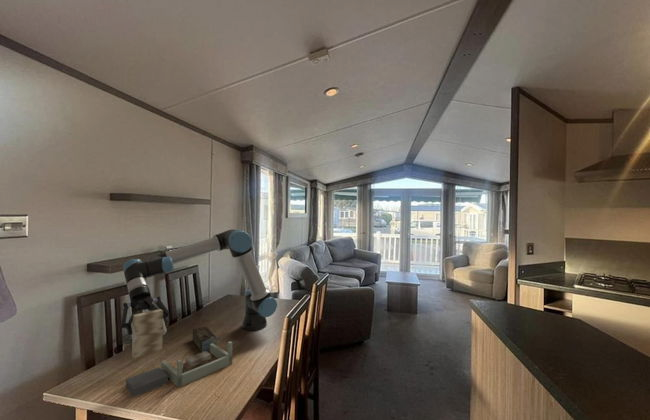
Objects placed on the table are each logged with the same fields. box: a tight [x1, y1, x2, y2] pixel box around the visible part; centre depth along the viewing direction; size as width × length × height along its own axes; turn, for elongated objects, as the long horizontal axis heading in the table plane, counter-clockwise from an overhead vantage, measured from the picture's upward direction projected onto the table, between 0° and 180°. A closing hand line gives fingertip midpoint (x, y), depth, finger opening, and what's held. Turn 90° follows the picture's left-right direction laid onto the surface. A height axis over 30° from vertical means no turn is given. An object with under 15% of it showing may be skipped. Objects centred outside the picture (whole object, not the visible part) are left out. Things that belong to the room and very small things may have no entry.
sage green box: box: [160, 341, 233, 388], centre depth 128 cm, size 24×18×10 cm
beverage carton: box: [192, 326, 218, 353], centre depth 151 cm, size 8×19×7 cm, turn 38°
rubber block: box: [125, 366, 169, 398], centre depth 114 cm, size 12×10×3 cm
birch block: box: [131, 308, 163, 359], centre depth 114 cm, size 10×3×16 cm, turn 139°
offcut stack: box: [182, 351, 212, 373], centre depth 125 cm, size 11×6×6 cm, turn 139°
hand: (150, 337), depth 112 cm, fingers closed on birch block, 10 cm apart
